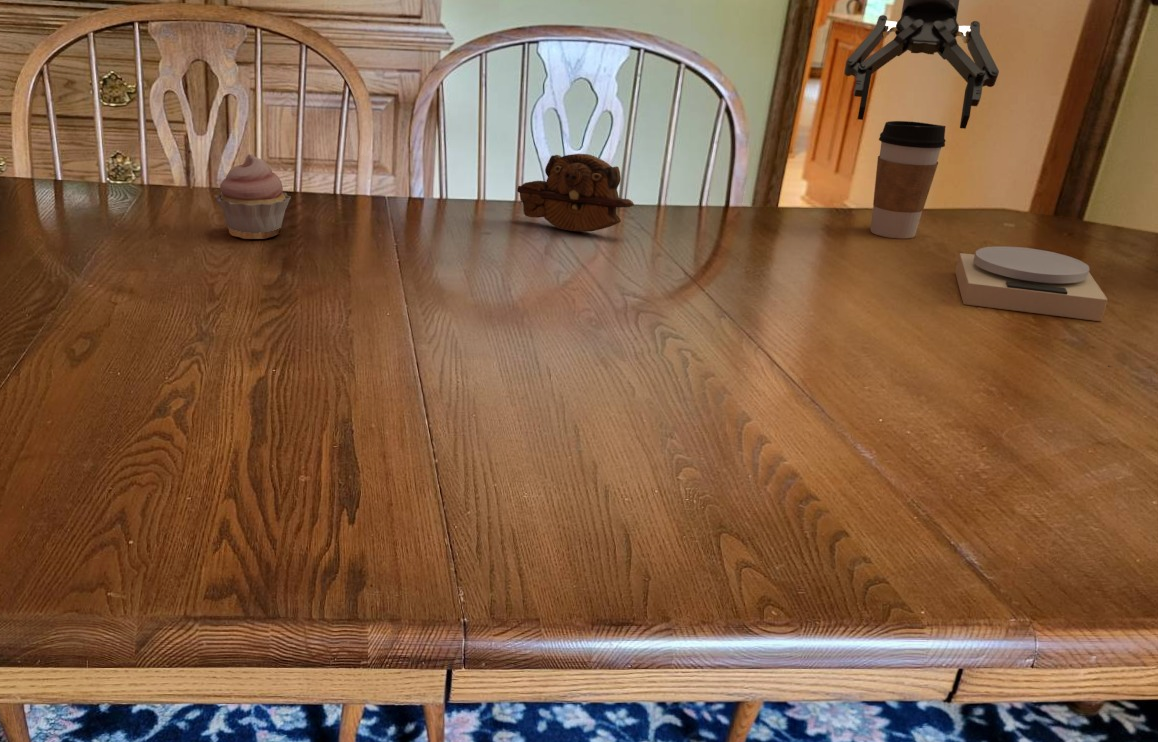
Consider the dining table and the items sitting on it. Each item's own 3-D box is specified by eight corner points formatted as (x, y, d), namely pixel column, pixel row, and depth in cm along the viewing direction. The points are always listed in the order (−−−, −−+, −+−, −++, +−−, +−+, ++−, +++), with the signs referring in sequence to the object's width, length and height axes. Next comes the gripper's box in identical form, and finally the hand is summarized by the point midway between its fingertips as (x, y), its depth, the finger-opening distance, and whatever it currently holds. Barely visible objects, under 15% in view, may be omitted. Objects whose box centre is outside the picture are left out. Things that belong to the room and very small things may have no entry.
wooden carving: (508, 224, 149) (513, 149, 144) (523, 218, 152) (528, 144, 148) (622, 244, 141) (630, 165, 137) (635, 237, 145) (643, 160, 141)
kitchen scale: (1080, 287, 131) (1089, 254, 130) (1101, 321, 119) (1112, 286, 118) (954, 272, 135) (962, 240, 134) (963, 304, 123) (971, 269, 122)
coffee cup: (883, 241, 148) (906, 127, 142) (848, 226, 155) (869, 117, 149) (937, 240, 150) (963, 127, 144) (901, 225, 157) (924, 117, 151)
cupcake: (203, 230, 139) (198, 150, 135) (269, 222, 145) (267, 144, 140) (237, 247, 133) (233, 163, 128) (305, 238, 138) (303, 157, 134)
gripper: (1018, 21, 160) (1002, 143, 153) (839, 10, 167) (817, 126, 160) (1032, -17, 153) (1016, 108, 147) (845, -27, 160) (822, 92, 153)
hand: (912, 118), depth 153 cm, fingers open, 13 cm apart
